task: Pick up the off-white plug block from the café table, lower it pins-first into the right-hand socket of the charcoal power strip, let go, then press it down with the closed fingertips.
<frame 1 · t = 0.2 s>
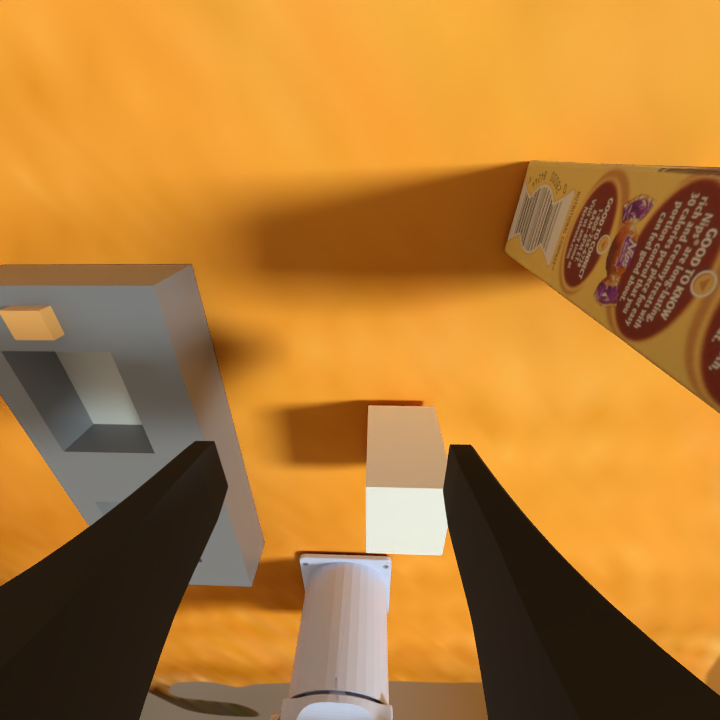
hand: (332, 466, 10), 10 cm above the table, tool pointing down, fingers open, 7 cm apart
candy box: (606, 218, 16), on the table
plug: (398, 431, 22), on the table
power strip: (166, 438, 23), on the table
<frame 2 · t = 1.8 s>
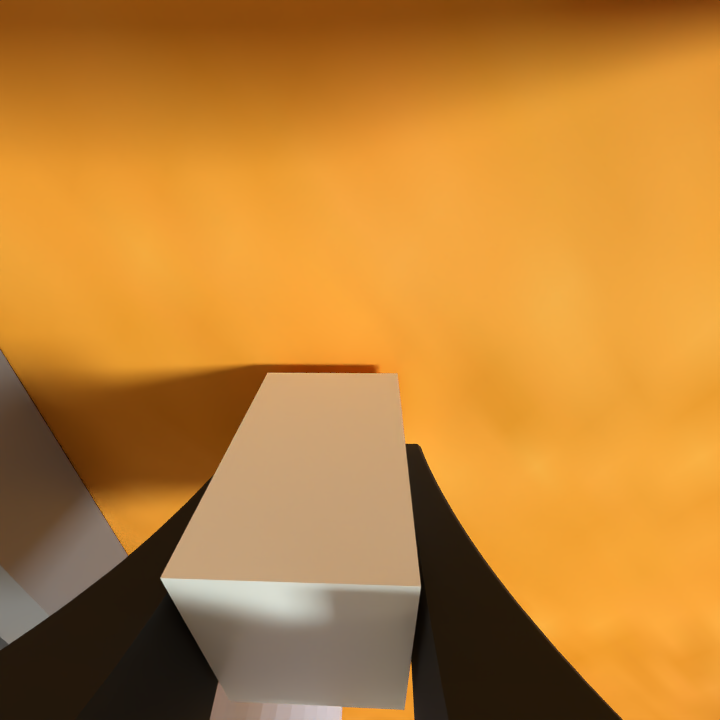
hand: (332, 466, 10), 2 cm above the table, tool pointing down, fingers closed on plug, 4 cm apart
plug: (338, 425, 12), on the table, touching gripper
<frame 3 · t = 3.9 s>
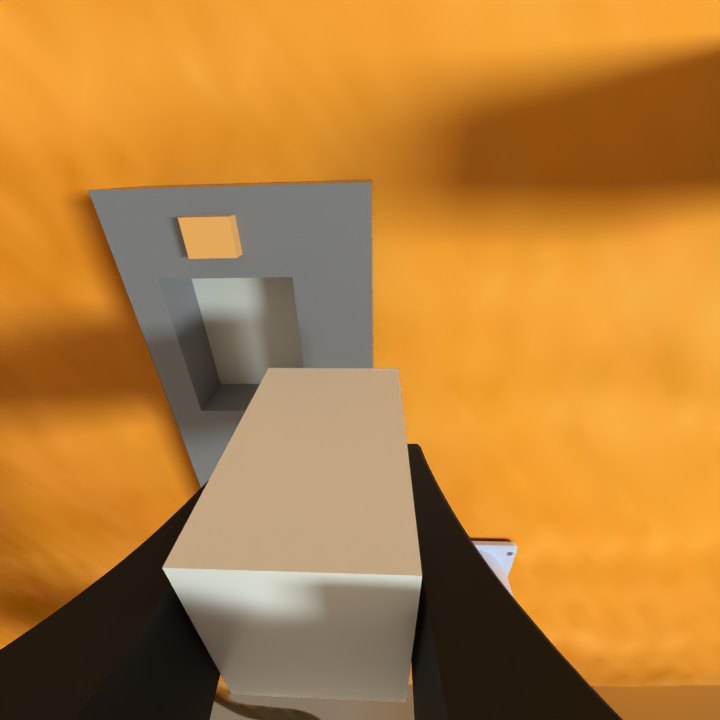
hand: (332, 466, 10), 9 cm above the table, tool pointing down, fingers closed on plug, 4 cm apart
plug: (339, 421, 12), point 7 cm above the table, touching gripper
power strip: (291, 404, 21), on the table
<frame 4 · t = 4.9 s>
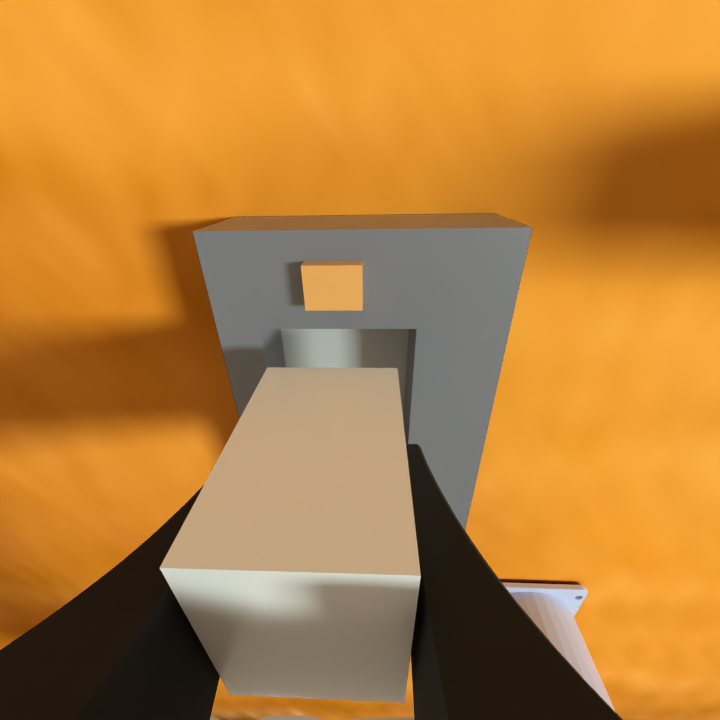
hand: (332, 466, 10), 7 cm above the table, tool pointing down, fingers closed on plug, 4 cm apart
plug: (338, 421, 12), point 5 cm above the table, touching gripper
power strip: (365, 446, 19), on the table
when the fingers open (4 cm above the table, at t = 5.9 s): plug stays where it is, resting on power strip.
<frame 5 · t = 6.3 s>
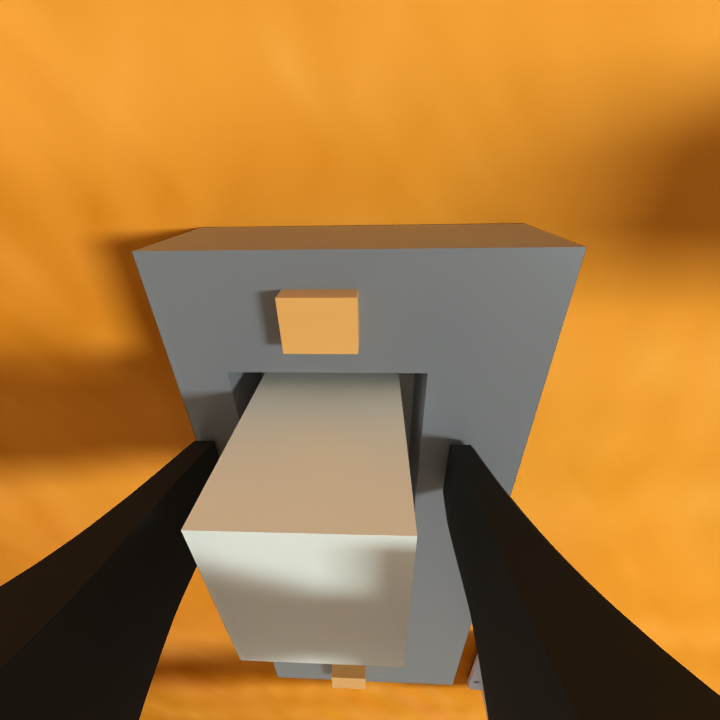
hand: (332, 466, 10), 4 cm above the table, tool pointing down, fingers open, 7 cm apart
plug: (340, 410, 13), point 1 cm above the table, touching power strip
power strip: (363, 488, 16), on the table
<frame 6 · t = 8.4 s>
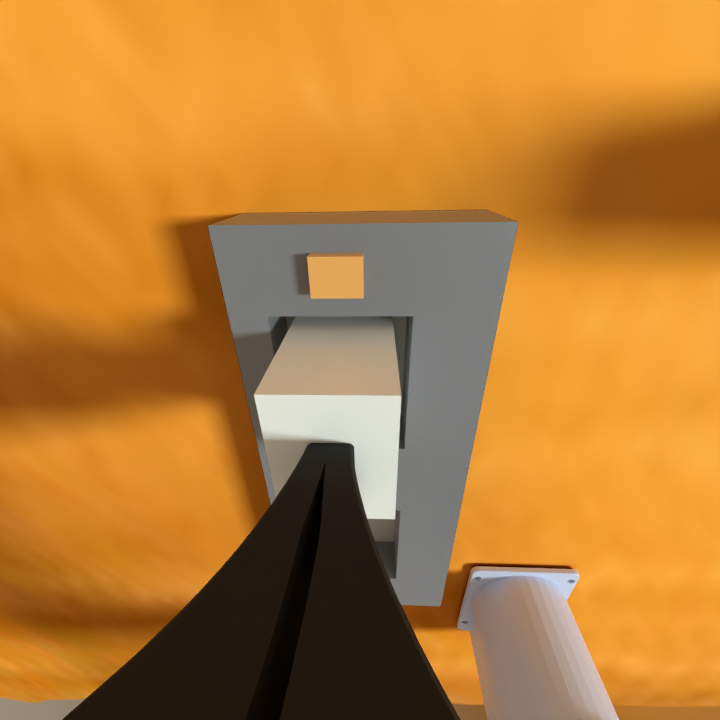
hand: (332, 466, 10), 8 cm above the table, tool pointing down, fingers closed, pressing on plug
plug: (347, 358, 16), point 1 cm above the table, touching gripper, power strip
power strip: (365, 433, 20), on the table
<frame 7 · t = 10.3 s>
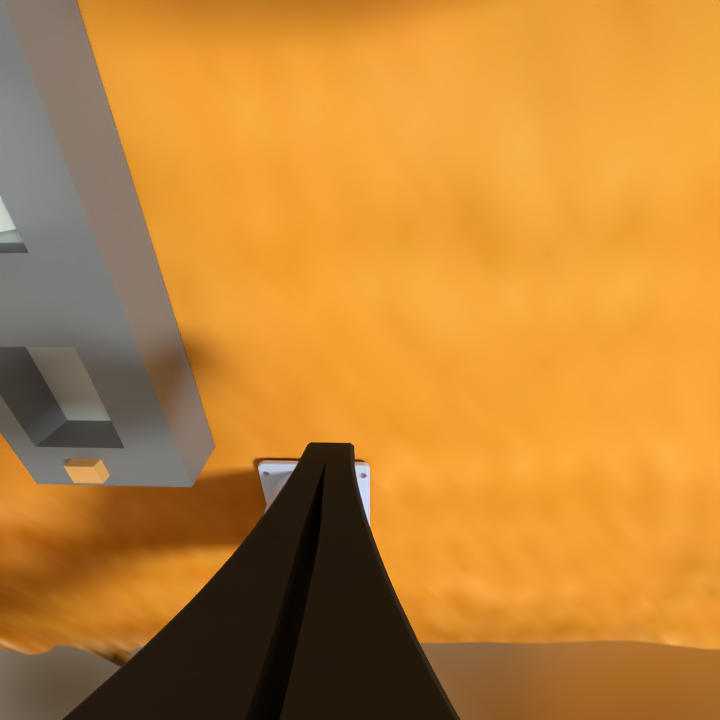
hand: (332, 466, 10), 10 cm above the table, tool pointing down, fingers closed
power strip: (73, 280, 18), on the table
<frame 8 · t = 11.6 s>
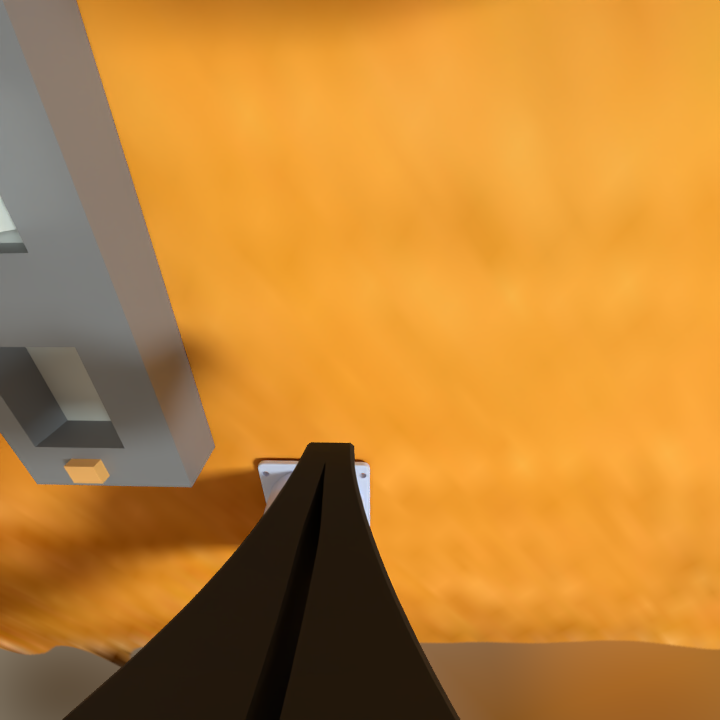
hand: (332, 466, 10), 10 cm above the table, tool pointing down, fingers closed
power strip: (73, 280, 18), on the table
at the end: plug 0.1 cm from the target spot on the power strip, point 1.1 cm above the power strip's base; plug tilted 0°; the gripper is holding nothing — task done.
